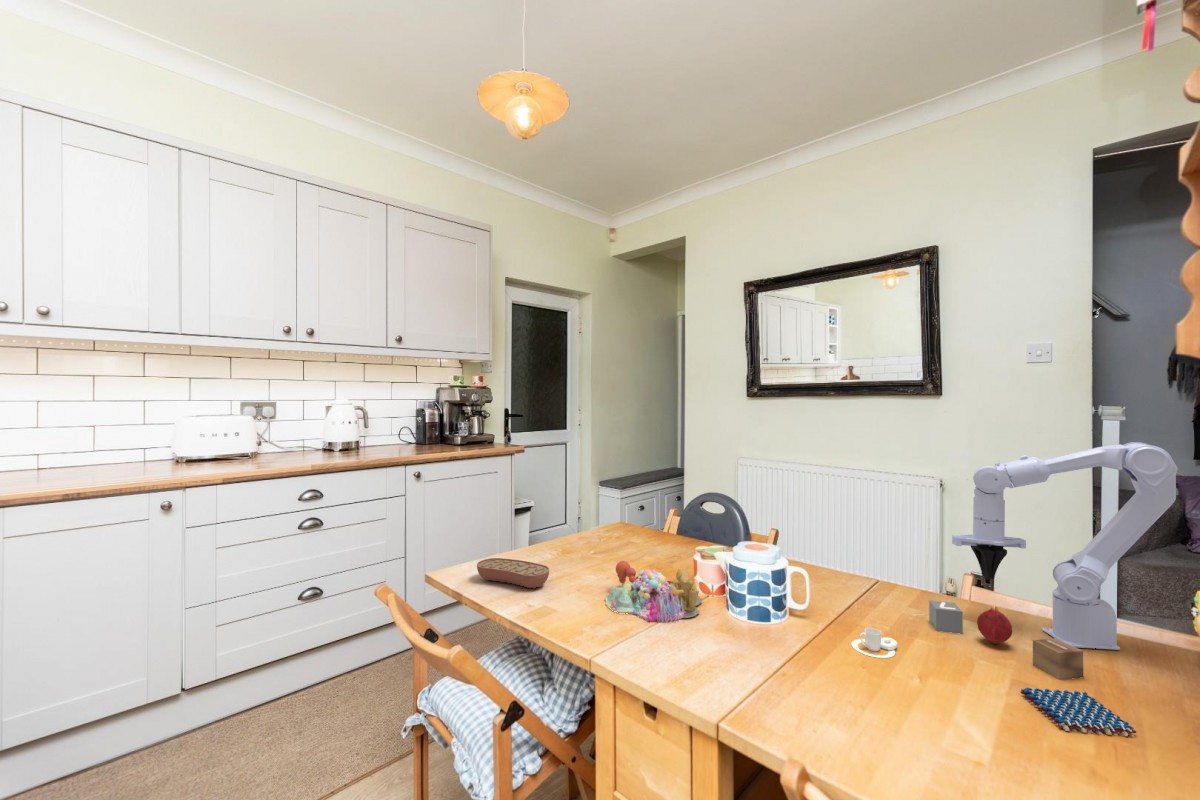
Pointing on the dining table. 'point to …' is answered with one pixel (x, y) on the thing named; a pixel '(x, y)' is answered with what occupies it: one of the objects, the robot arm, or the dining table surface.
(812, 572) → the dining table surface
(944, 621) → the slate grey block
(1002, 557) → the robot arm
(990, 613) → the onion
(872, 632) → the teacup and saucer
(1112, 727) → the woven mat
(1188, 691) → the dining table surface
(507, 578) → the patterned shoe sole
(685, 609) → the candy landscape model
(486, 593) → the dining table surface
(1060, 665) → the walnut block
